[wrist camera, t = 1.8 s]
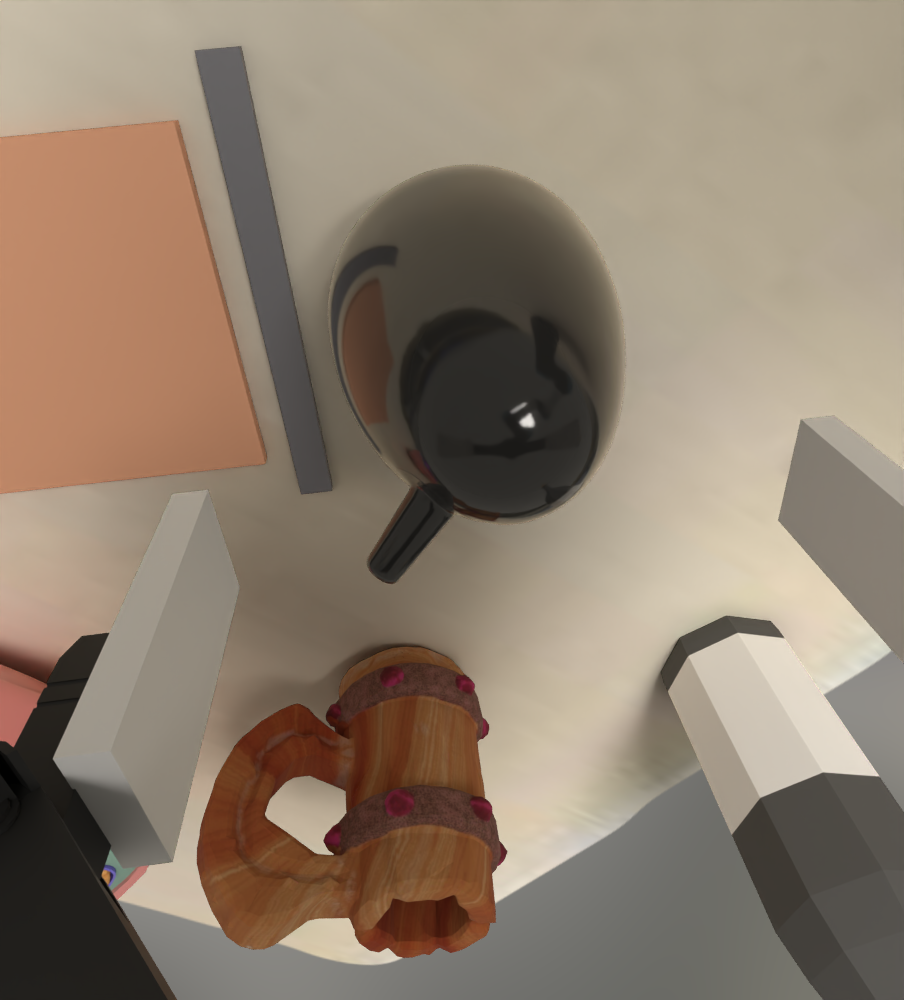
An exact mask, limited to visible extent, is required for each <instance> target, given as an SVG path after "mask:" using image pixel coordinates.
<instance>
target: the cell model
mask: <svg viewBox="0 0 904 1000" xmlns="http://www.w3.org/2000/svg"><path fill="white" fill-rule="evenodd" d="M44 688H47V684H46V683H44V682H42V681H39V680H37V679H35V678H33V677H31V676H29V675H26V674H24V673H21V672H19V671H17V670H14V669H12V668H9V667H7V666H4V665H2V664H0V741H6V742H7V743H9V744H10V745H11V746H12V747H14V745H15V744H16V742H17V740H18V738H19V736H20V734H21V732H22V730H23V728H24V726H25V724H26V722H27V720H28V718H29V716H30V714H31V713H32V711H33V709H34V708H36V707H37V701H38V699H39V697H40V695H41V693H42V691H43V689H44ZM147 867H148V866H141V867H133V868H126V869H123V868H122V866H121V865H120V863H119V862H118V860H117V859H116V857H115V856H114V854H113V852H112V851H111V849H110V852H109V855H108V858H107V861H106V864H105V867H104V870H103V873H102V877H103V878H104V880H105V881H106V883H107V884H108V886H109V888H110V889H111V891H112V893H113V894H114V896H115V898H116V899H119V898H120V897H121V896H122V895H123V894H124V893H125V892H126V891H127V890H128V889H129V888H130V887H131V886H132V885H133V884H134V883H135V882H136V881H137V880H138V879H139V878H140V877H141V876H142V875H143V874H144V873H145V872H146V870H147Z"/></svg>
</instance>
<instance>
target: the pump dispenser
mask: <svg viewBox="0 0 904 1000" xmlns="http://www.w3.org/2000/svg"><path fill="white" fill-rule="evenodd" d="M328 329H329V338H330V344H331V349H332V354H333V359H334V363H335V367H336V371H337V375H338V378H339V381H340V384H341V388H342V390H343V393H344V396H345V398H346V401H347V403H348V405H349V408H350V410H351V412H352V414H353V416H354V418H355V420H356V422H357V423H358V425H359V427H360V429H361V430H362V432H363V434H364V435H365V437H366V438H367V440H368V441H369V443H370V444H371V446H372V447H373V449H374V450H375V451H376V453H377V454H378V455H379V456H380V458H381V459H382V460H383V461H384V462H385V464H386V465H387V466H388V467H389V468H390V469H391V470H392V471H393V472H394V473H395V474H396V475H397V476H398V477H399V478H400V479H401V480H403V481H404V482H405V483H406V484H407V485H409V486H410V489H409V491H408V493H407V495H406V496H405V498H404V500H403V501H402V503H401V505H400V506H399V508H398V509H397V511H396V513H395V514H394V516H393V518H392V519H391V521H390V522H389V524H388V526H387V527H386V529H385V531H384V532H383V534H382V535H381V537H380V539H379V540H378V542H377V544H376V545H375V547H374V549H373V550H372V552H371V553H370V555H369V557H368V559H367V567H368V569H369V571H370V572H371V573H372V574H373V575H374V576H375V577H376V578H377V579H379V580H381V581H382V582H385V583H388V584H394V583H396V582H398V581H399V580H400V579H401V577H402V576H403V575H404V574H405V573H406V572H407V570H408V569H409V568H410V567H411V566H412V564H413V563H414V562H415V561H416V560H417V559H418V557H419V556H420V555H421V554H422V553H423V551H424V550H425V549H426V548H427V547H428V546H429V544H430V543H431V542H432V541H433V540H434V538H435V537H436V536H437V535H438V534H439V533H440V531H441V530H442V529H443V528H444V527H445V526H446V524H447V523H448V522H449V521H450V520H451V519H452V518H453V517H454V516H455V515H460V516H462V517H465V518H467V519H470V520H473V521H478V522H484V523H491V524H499V525H513V524H521V523H526V522H530V521H533V520H536V519H539V518H542V517H544V516H546V515H549V514H551V513H553V512H554V511H556V510H558V509H560V508H561V507H563V506H564V505H566V504H567V503H568V502H569V501H571V500H572V499H573V498H574V497H575V496H576V495H578V494H579V493H580V492H581V491H582V490H583V488H584V487H585V486H586V485H587V484H588V483H589V481H590V480H591V479H592V478H593V476H594V475H595V473H596V472H597V470H598V469H599V467H600V466H601V464H602V462H603V461H604V459H605V457H606V455H607V453H608V451H609V449H610V446H611V444H612V441H613V439H614V436H615V433H616V430H617V426H618V422H619V418H620V414H621V408H622V403H623V395H624V385H625V367H626V351H625V334H624V326H623V319H622V313H621V308H620V304H619V300H618V296H617V292H616V289H615V286H614V283H613V280H612V277H611V275H610V272H609V270H608V267H607V265H606V263H605V261H604V259H603V256H602V254H601V252H600V250H599V248H598V246H597V244H596V243H595V241H594V239H593V237H592V236H591V234H590V232H589V231H588V230H587V228H586V227H585V225H584V224H583V222H582V221H581V220H580V219H579V217H578V216H577V215H576V214H575V213H574V212H573V211H572V210H571V209H570V208H569V206H568V205H566V204H565V203H564V202H563V201H562V200H561V199H560V198H559V197H557V196H556V195H555V194H554V193H552V192H551V191H550V190H548V189H547V188H545V187H544V186H542V185H541V184H539V183H537V182H536V181H534V180H532V179H530V178H528V177H526V176H523V175H521V174H518V173H516V172H513V171H510V170H506V169H502V168H498V167H493V166H486V165H455V166H448V167H442V168H438V169H434V170H431V171H427V172H424V173H422V174H419V175H417V176H414V177H412V178H410V179H408V180H406V181H404V182H402V183H400V184H399V185H397V186H395V187H394V188H392V189H391V190H389V191H388V192H387V193H385V194H384V195H383V196H382V197H380V198H379V199H378V200H377V201H376V202H375V203H374V204H373V205H372V206H370V207H369V209H368V210H367V211H366V212H365V213H364V214H363V215H362V216H361V218H360V219H359V220H358V222H357V223H356V224H355V226H354V227H353V229H352V230H351V232H350V233H349V235H348V237H347V239H346V240H345V242H344V244H343V246H342V248H341V251H340V253H339V256H338V258H337V261H336V264H335V267H334V271H333V275H332V279H331V284H330V290H329V299H328Z"/></svg>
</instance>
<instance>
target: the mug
mask: <svg viewBox="0 0 904 1000" xmlns="http://www.w3.org/2000/svg"><path fill="white" fill-rule="evenodd" d="M474 688H475V684H474V683H473V682H472V680H471V679H470V678H469V677H467V676H466V675H465V674H464V673H463V672H462V671H461V670H460V668H459V667H458V666H457V665H456V664H455V663H454V662H453V661H452V660H451V659H449V658H447V657H445V656H443V655H440V654H438V653H436V652H434V651H431V650H428V649H426V648H423V647H397V648H391V649H388V650H385V651H382V652H379V653H377V654H376V655H374V656H372V657H369V658H367V659H365V660H363V661H361V662H359V663H358V664H356V665H355V666H353V667H352V668H350V669H349V670H348V671H347V673H346V674H345V676H344V677H343V679H342V681H341V684H340V688H339V697H340V699H339V700H338V702H337V703H336V704H332V705H331V706H330V708H329V710H328V711H327V713H326V720H327V722H328V723H329V724H330V726H332V727H335V732H334V731H333V730H332V729H330V728H329V727H328V726H326V725H325V724H324V723H323V722H321V721H320V720H319V719H318V718H317V717H316V716H315V715H314V714H313V713H312V712H311V711H310V710H309V709H308V708H306V707H304V706H303V705H301V704H294V705H291V706H288V707H286V708H284V709H282V710H279V711H278V712H276V713H274V714H273V715H271V716H269V717H268V718H266V719H264V720H263V721H261V722H260V723H259V724H258V725H257V726H255V727H254V728H253V729H252V730H251V731H250V732H249V733H247V734H246V735H245V736H244V737H242V738H241V739H240V741H239V742H238V743H237V744H236V745H235V746H234V748H233V750H232V751H231V753H230V755H229V757H228V758H227V760H226V762H225V763H224V765H223V767H222V768H221V770H220V772H219V774H218V776H217V778H216V780H215V783H214V787H213V790H212V793H211V796H210V799H209V802H208V804H207V807H206V810H205V813H204V817H203V820H202V823H201V828H200V837H199V841H198V847H197V866H198V871H199V875H200V879H201V884H202V887H203V889H204V892H205V895H206V897H207V900H208V902H209V905H210V907H211V910H212V912H213V914H214V915H215V917H216V919H217V921H218V922H219V924H220V926H221V927H222V929H223V931H224V933H225V934H226V936H227V937H228V938H230V939H231V940H232V941H234V942H235V943H236V944H238V945H239V946H241V947H245V948H249V949H253V950H254V949H265V948H268V947H270V946H273V945H275V944H276V943H278V942H279V941H280V940H282V939H283V938H285V937H286V936H287V935H289V934H290V933H292V932H293V931H294V930H296V929H297V928H299V927H300V926H301V925H303V924H304V923H305V922H307V921H308V920H313V919H319V918H349V919H350V920H351V923H352V925H353V928H354V929H355V936H356V938H357V940H358V942H359V943H360V944H361V945H363V946H364V947H366V948H367V949H368V950H370V951H375V952H381V951H382V950H384V949H386V948H389V949H390V950H391V951H392V952H393V953H394V954H395V955H396V956H399V957H403V958H409V957H415V956H418V955H421V954H427V955H430V954H431V953H432V952H433V951H435V950H436V949H437V948H442V949H444V950H446V951H448V952H450V953H452V952H456V951H459V950H462V949H464V948H466V947H468V946H470V945H471V944H473V943H475V942H476V941H478V940H480V939H481V938H483V937H485V936H486V935H487V933H488V931H489V926H490V923H495V922H496V918H495V915H496V913H495V912H496V911H495V900H494V890H493V879H492V873H493V872H494V871H495V870H496V868H497V866H498V865H500V864H501V863H502V862H503V861H504V859H505V857H506V854H507V850H506V849H505V847H504V846H503V844H502V843H501V842H500V841H499V837H498V831H497V825H496V820H495V818H494V816H493V814H492V806H491V804H490V802H489V801H488V800H486V799H485V792H484V785H483V779H482V775H481V767H480V759H479V752H478V744H477V742H478V741H479V740H480V739H483V738H484V737H485V736H486V735H487V734H488V731H489V724H488V723H487V721H486V720H485V719H484V718H482V714H481V709H480V705H479V701H478V697H477V695H476V693H475V691H474ZM301 776H312V777H314V778H316V779H319V780H321V781H324V782H326V783H329V784H331V785H334V786H336V787H338V788H341V789H343V790H345V791H346V810H347V813H346V814H345V816H344V817H343V818H342V819H341V821H340V822H339V823H338V824H336V825H335V826H333V827H332V828H331V829H330V831H329V832H328V833H327V834H326V835H325V838H324V843H325V845H326V847H327V849H328V850H329V851H330V852H332V853H334V855H321V854H316V853H314V852H313V851H311V850H310V849H309V848H307V847H306V846H304V845H303V844H302V843H300V842H299V841H298V840H296V839H295V838H294V837H292V836H291V835H290V834H288V833H287V832H285V831H284V830H283V829H281V828H280V827H278V826H277V825H275V824H274V823H272V822H271V821H269V820H268V819H267V818H266V816H265V812H266V809H267V806H268V803H269V800H270V798H271V797H272V796H273V795H274V794H275V793H276V792H277V791H278V790H279V789H280V788H281V787H282V785H283V784H284V783H285V782H287V781H289V780H290V779H292V778H294V777H301Z"/></svg>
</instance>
